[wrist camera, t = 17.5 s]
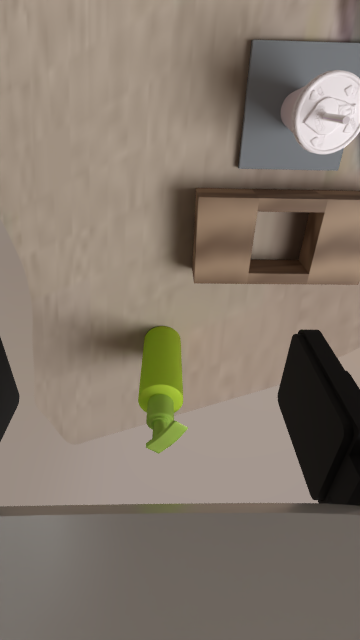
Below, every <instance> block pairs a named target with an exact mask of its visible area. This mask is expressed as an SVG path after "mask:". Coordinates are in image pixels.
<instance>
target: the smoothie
mask: <svg viewBox="0 0 360 640" xmlns="http://www.w3.org/2000/svg"><path fill="white" fill-rule="evenodd" d="M281 119H282V122H283V123H284V125H285V126H286V127H287V128H288V129H289V130H290V131H291V132H292V133H293V134H294V136H295V139H296V141H297V142H298V144H299V145H300V146H301V147H302V148H303V149H305V150H307V151H309V152H311V153H316V154H330V153H334V152H336V151H339V150H341V149H342V148H344V147H345V146H347V145H348V144H349V143H350V142H351V141H352V140H353V139H354V138H355V137H356V136H357V134H358V133H359V131H360V78H359V77H357V76H356V75H355V74H353V73H351V72H348V71H341V70H334V71H327V72H325V73H323V74H320V75H318V76H317V77H315V78H314V79H313V80H311V81H310V82H309V83H308V84H307V85H306V86H304V87H302V88H300V89H298V90H296V91H294V92H292V93H290V94H289V95H288V96H287V97H286V98H285V100H284V102H283V104H282V106H281Z"/></svg>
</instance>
